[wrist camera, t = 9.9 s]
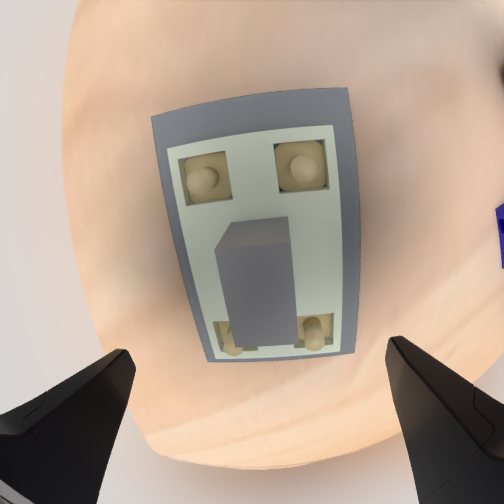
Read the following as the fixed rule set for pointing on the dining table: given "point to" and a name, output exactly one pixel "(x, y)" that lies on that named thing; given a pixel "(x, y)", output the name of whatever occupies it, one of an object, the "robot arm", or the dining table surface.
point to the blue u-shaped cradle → (501, 229)
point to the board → (260, 203)
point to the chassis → (289, 178)
